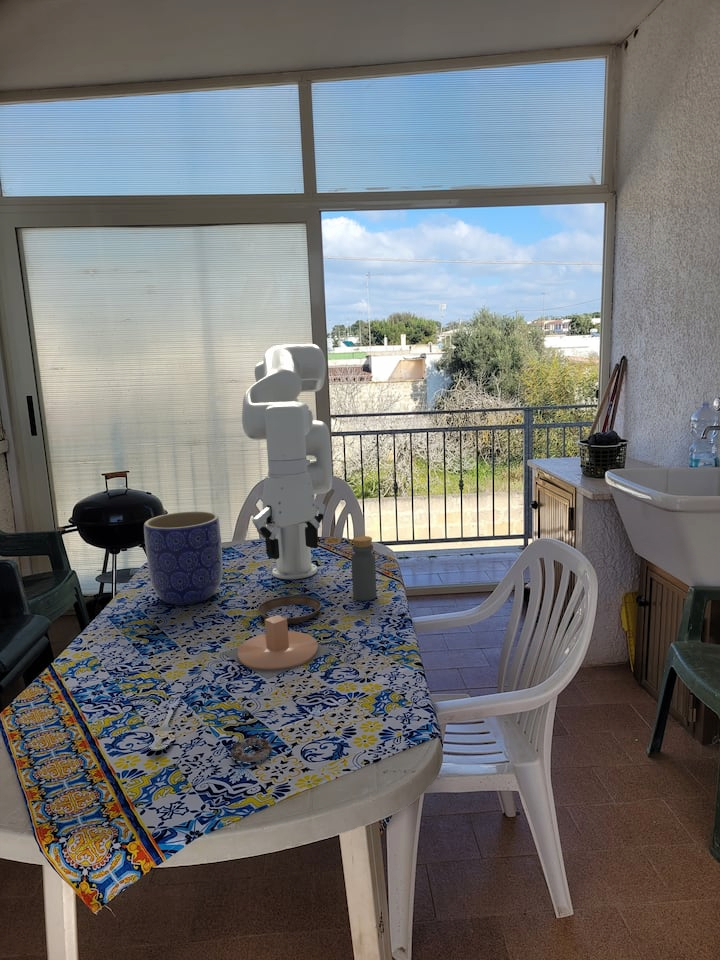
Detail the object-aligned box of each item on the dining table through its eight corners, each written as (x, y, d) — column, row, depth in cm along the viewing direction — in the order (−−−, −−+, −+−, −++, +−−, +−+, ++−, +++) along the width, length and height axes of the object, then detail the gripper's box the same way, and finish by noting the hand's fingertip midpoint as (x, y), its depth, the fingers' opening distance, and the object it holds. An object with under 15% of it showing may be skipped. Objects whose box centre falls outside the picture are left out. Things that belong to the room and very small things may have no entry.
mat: (222, 655, 133) (222, 652, 132) (287, 631, 143) (286, 629, 143) (267, 681, 121) (267, 678, 121) (334, 653, 131) (333, 650, 131)
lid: (222, 653, 132) (219, 620, 131) (286, 629, 143) (284, 598, 142) (267, 678, 121) (265, 643, 119) (333, 650, 131) (332, 617, 130)
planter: (215, 609, 158) (208, 527, 154) (140, 612, 159) (131, 529, 155) (232, 584, 176) (226, 509, 173) (165, 586, 177) (157, 512, 173)
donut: (289, 752, 100) (288, 740, 99) (254, 781, 93) (253, 768, 93) (248, 736, 104) (247, 725, 104) (212, 763, 98) (211, 750, 97)
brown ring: (301, 600, 162) (300, 590, 162) (334, 617, 150) (333, 606, 150) (247, 616, 154) (246, 605, 153) (277, 635, 142) (276, 623, 142)
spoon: (143, 760, 99) (142, 750, 99) (167, 693, 119) (166, 685, 119) (171, 757, 99) (170, 747, 99) (190, 691, 119) (190, 682, 119)
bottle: (377, 592, 165) (375, 535, 162) (375, 601, 159) (373, 541, 157) (354, 592, 166) (351, 535, 163) (351, 601, 160) (349, 541, 157)
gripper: (309, 460, 136) (314, 540, 139) (239, 472, 125) (246, 558, 127) (333, 463, 131) (337, 546, 134) (262, 475, 119) (268, 565, 122)
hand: (293, 552), depth 131 cm, fingers open, 9 cm apart
